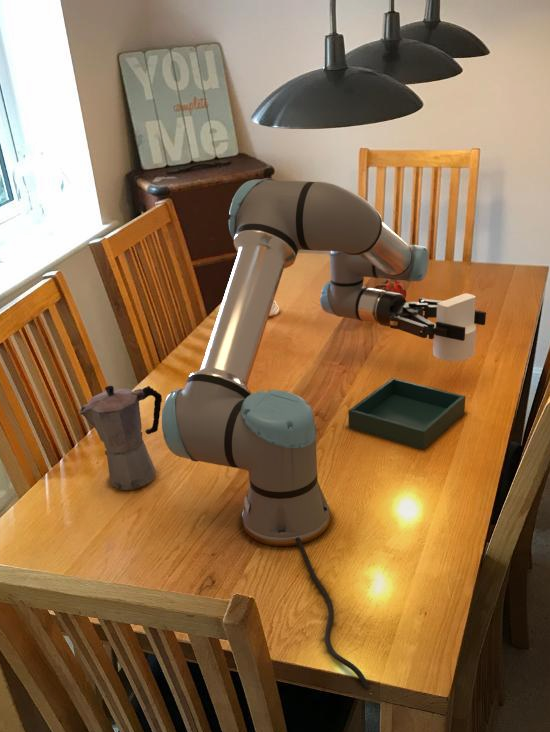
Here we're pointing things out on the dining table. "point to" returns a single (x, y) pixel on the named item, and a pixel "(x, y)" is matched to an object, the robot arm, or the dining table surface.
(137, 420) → the moka pot
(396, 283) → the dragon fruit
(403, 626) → the dining table surface
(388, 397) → the bin
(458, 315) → the cylinder with rectangular tab
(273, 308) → the white rounded lump
